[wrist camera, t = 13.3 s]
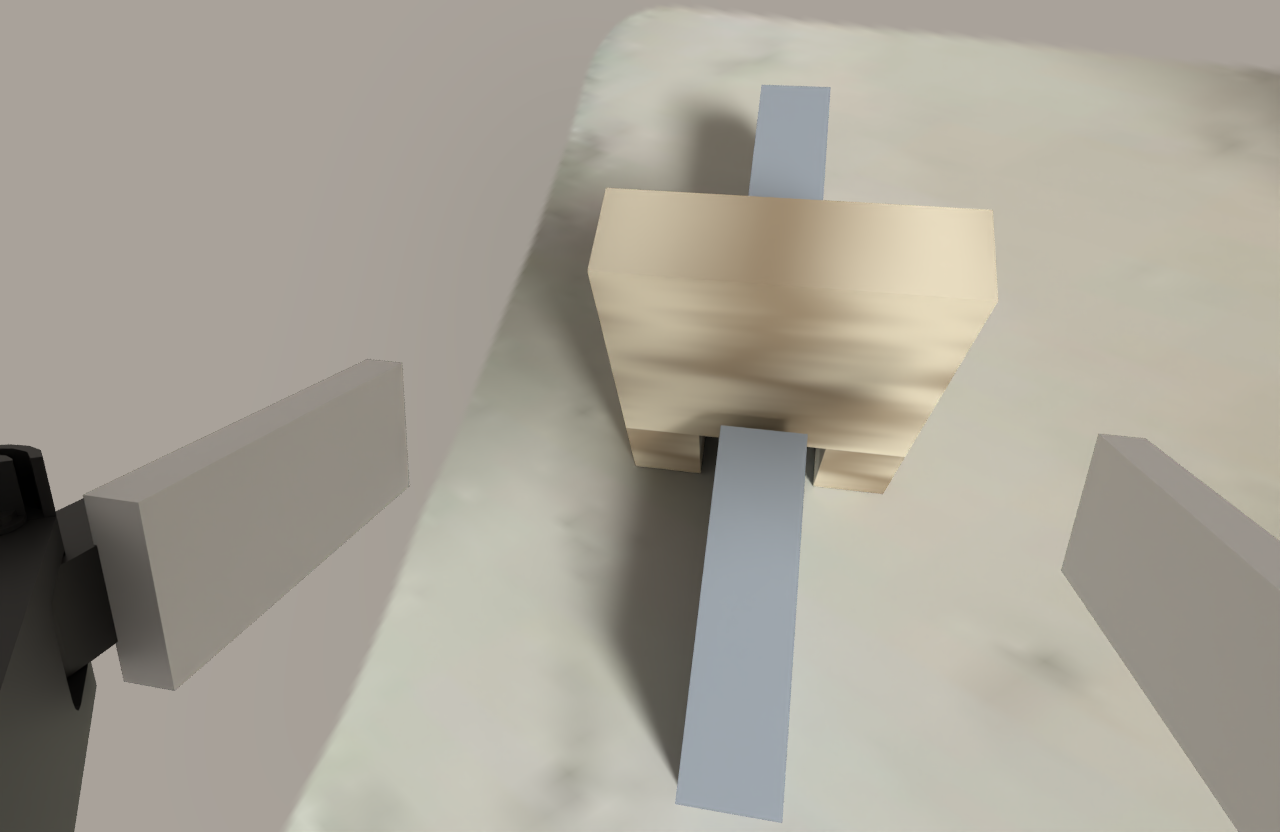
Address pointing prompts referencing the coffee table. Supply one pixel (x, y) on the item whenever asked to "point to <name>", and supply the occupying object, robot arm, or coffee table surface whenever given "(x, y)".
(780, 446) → the grey rail
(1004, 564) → the coffee table surface
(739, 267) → the wooden arch block
